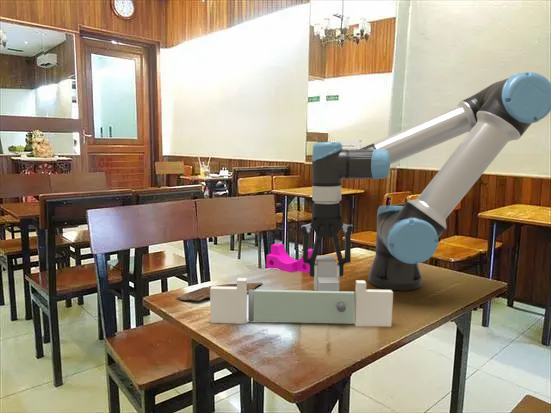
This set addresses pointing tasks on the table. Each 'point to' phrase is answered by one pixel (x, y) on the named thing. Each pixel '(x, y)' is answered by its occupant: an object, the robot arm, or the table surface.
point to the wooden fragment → (205, 292)
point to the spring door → (301, 306)
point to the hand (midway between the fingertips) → (326, 287)
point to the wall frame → (368, 312)
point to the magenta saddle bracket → (286, 260)
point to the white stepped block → (327, 273)
